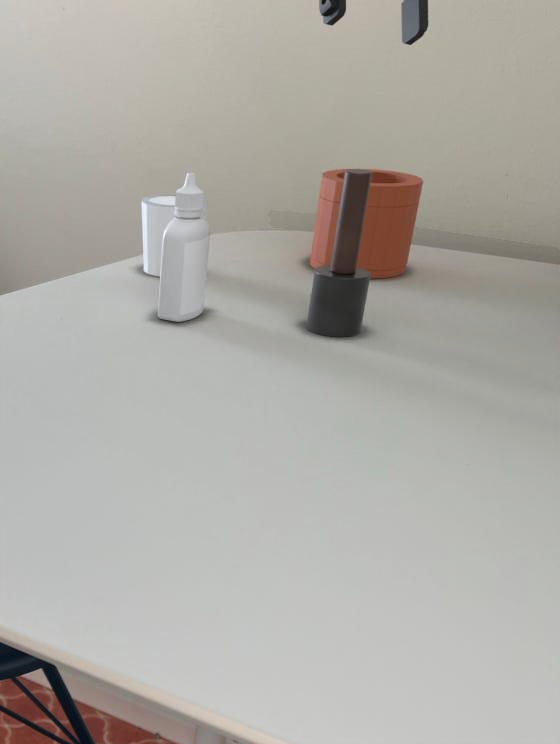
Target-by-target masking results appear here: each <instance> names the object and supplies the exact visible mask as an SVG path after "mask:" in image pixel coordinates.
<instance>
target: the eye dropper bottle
mask: <svg viewBox="0 0 560 744" xmlns="http://www.w3.org/2000/svg"><path fill="white" fill-rule="evenodd" d="M204 194H205V192H204V191H203V190H202V189H201V188H199V187H198V185H197V177H196V173H194V172H187V174H186V177H185V181H184V184H183V186H182V187H180V188H178V189H176V190H175V195H176V197H175V212H174V214H175V215H176V216H175V217H174V219H173V220H172V221H171V222H170V223H169V224H168V225H167V227H166V229H165V231H164V234H163V242H162V255H161V270H160V277H159V289H158V303H157V304H158V305H157V317H158V318H159V319H160V320H165V321H169V322H176V323H182V322H186V321H190V320H193V319H195V318H197V317H199V316H200V315H201V314H202V312H203V311H204V307H205V297H206V285H207V273H208V263H209V251H210V249H209V248H210V238H211V237H210V236H211V228H210V225H209V223H208V222H207V221H206V219H205V220H203V219H201V217H200V216H202V209H203V199H204Z"/></svg>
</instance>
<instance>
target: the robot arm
mask: <svg viewBox="0 0 560 744" xmlns="http://www.w3.org/2000/svg"><path fill="white" fill-rule="evenodd" d="M318 5H319V6H318V9H319V13H320V16H322V18H323V19H322V22H323V24H324V25H328V26H332V27H333V26H334V25H335V24H336V23H338V22H339V21H340V20H341V19H342V18H343V17H345V14H346V11H347V0H318ZM400 6H401V7H400V8H401V9H400V10H401V15H400V16H401V42H402V44H404V45H408V46H411V45H413V44H414V43H416V42H417V41H418V40H420V39H421V38H422V37H424V35H425V33H426V32H427V31H428V28H429V0H403V1H402V2H401V4H400Z"/></svg>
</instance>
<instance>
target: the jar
mask: <svg viewBox="0 0 560 744" xmlns="http://www.w3.org/2000/svg"><path fill="white" fill-rule="evenodd" d="M349 169H350V168H341V169H340V168H339V169H332V170H327V171H323V172H322V173H321V174H322V175H321V180H320V186H319V187H320V188H319V194H318V202H317V209H316V216H315V223H314V230H313V236H312V242H311V243H312V244H311V250H310V260H309V265H310V266H311V267H312V268H313V269H315V268H317V267H319V266H324V265H331V259H332V253H333V246H334V240H335V233H336V227H337V220H338V214H339V207H340V201H341V194H342V188H343V181H344V175H345V171H346V170H349ZM360 169H361V170H368V171H371V172H372V177H371V183H370V189H369V195H368V201H367V207H366V213H365V219H364V225H363V231H362V237H361V243H360V249H359V255H358V261H357V266H356V267H359V268H362V269H365V270H367V271H369V272H370V274H371V275H370V280H371V279H374V280H375V279H376V280H377V279H389V278H394V277H398V276H401V275H403V274H404V273H405V272H406V269H407V264H408V261H409V257H410V256H409V255H410V250H411V246H412V240H413V237H414V236H413V235H414V231H415V227H416V226H415V225H416V220H417V215H418V211H419V210H418V209H419V204H420V200H421V195H422V191H423V184H424V180H423V179H422V177H419V176H418V175H414V174H410V173H407V172H401V171H395V170H386V169H375V168H373V169H372V168H360Z"/></svg>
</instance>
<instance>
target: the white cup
mask: <svg viewBox="0 0 560 744" xmlns="http://www.w3.org/2000/svg"><path fill="white" fill-rule="evenodd" d="M175 197H176V194H156V195H150V196H145V197H143V198H141V225H142V226H141V227H142V229H141V230H142V253H143V254H142V255H143V257H142V258H143V259H142V260H143V272H144V273H146V274H147V275H150V276H153V277H159V278H160V270H161V255H162V242H163V234H164V231H165V229H166V227H167V225H168V224H169V223H170V222H171V221H172V220H173V219H174V217H175V216H176V215H175V214H174V212H175ZM207 209H208V200H206V199H204V198H203V209H202V216H200V217H201V219H203V220H205V221H206V216H207Z"/></svg>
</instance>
